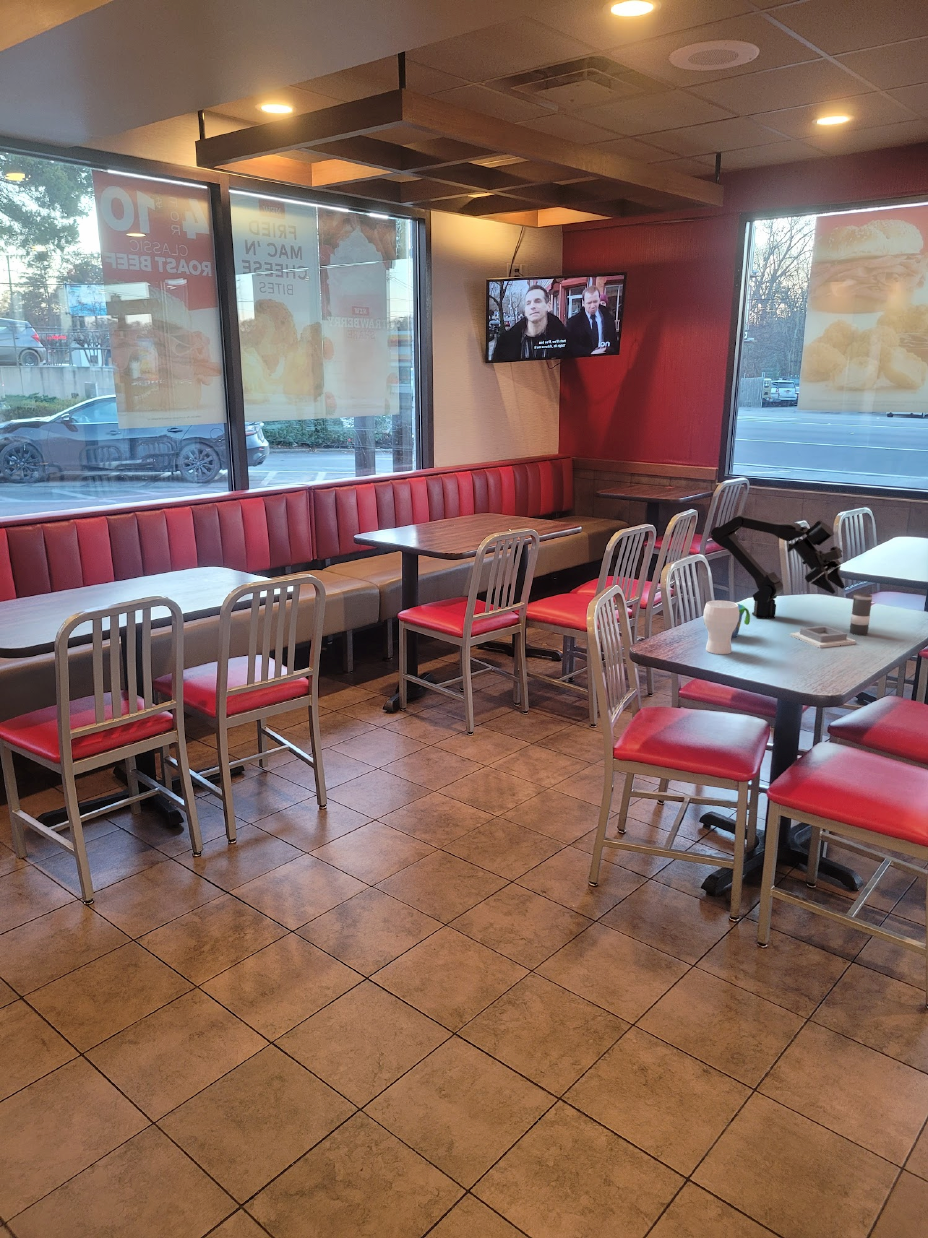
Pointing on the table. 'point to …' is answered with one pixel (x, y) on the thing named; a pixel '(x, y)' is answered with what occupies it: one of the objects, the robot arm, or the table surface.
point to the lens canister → (860, 614)
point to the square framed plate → (823, 636)
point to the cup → (720, 625)
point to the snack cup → (747, 619)
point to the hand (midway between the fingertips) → (839, 590)
